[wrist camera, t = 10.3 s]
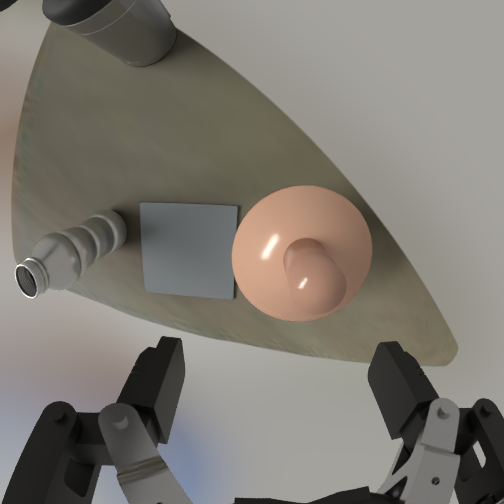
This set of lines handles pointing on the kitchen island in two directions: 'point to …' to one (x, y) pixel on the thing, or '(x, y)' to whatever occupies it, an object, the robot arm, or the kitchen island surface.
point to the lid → (301, 253)
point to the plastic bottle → (70, 253)
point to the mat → (188, 248)
